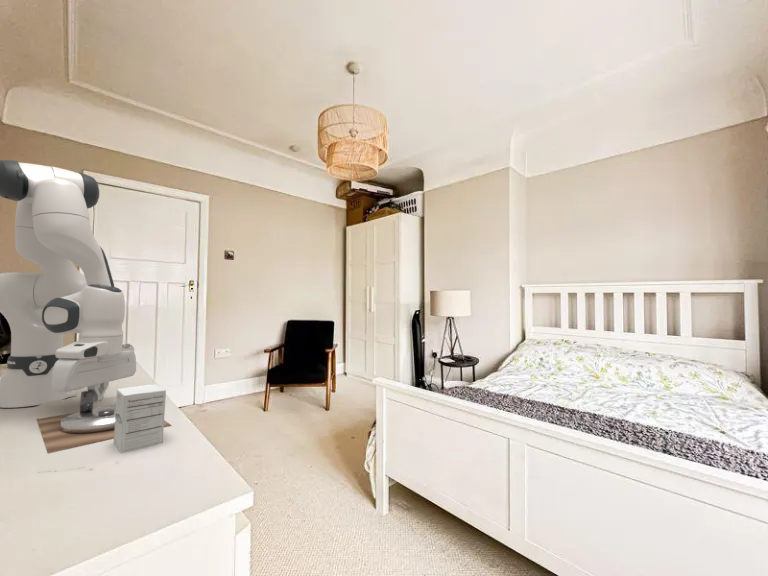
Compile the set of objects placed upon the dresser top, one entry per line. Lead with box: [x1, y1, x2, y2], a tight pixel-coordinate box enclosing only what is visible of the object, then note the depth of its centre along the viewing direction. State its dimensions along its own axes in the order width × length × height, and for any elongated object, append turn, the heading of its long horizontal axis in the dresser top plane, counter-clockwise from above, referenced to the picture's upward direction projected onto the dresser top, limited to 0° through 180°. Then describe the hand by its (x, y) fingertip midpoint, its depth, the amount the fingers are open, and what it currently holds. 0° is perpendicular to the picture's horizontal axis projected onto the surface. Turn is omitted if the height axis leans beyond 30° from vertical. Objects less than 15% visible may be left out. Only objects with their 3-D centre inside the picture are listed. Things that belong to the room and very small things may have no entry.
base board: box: [36, 411, 173, 454], centre depth 81 cm, size 28×21×2 cm
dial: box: [60, 389, 116, 433], centre depth 81 cm, size 18×16×6 cm
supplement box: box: [113, 383, 167, 454], centre depth 70 cm, size 7×7×13 cm
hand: (97, 401), depth 86 cm, fingers closed
